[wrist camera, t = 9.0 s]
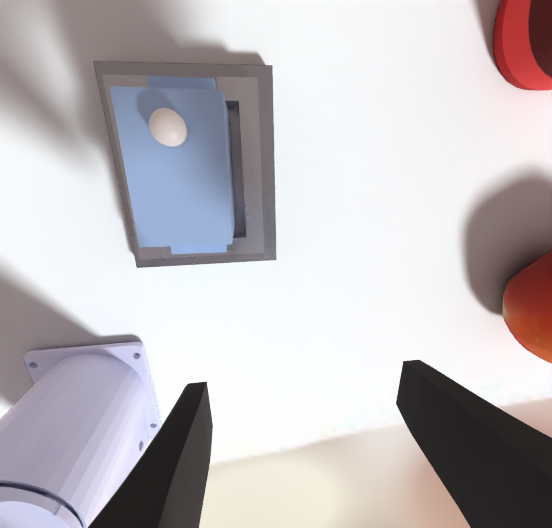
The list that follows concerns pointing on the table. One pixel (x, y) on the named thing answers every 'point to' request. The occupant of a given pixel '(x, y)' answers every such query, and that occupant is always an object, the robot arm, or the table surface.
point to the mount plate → (244, 151)
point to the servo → (177, 163)
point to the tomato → (531, 307)
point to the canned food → (524, 43)
